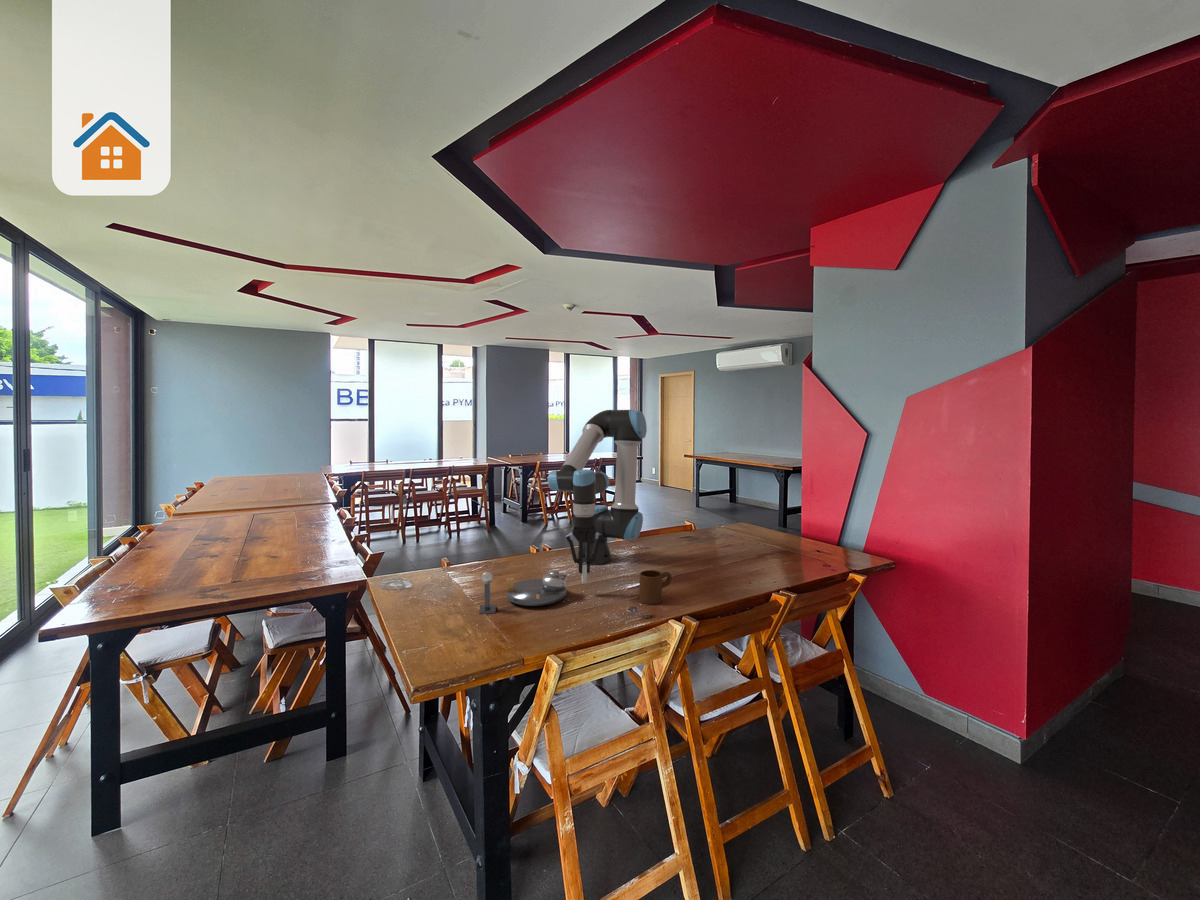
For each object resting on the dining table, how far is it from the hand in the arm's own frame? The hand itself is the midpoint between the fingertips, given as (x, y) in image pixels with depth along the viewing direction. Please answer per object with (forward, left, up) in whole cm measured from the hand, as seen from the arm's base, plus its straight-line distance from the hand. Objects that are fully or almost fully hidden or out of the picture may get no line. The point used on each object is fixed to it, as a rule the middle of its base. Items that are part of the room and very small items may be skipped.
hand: (584, 581), depth 170 cm
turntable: (0, -16, -3) cm, 17 cm away
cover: (0, -10, -1) cm, 10 cm away
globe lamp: (+8, -32, -5) cm, 34 cm away
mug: (+8, +24, -5) cm, 25 cm away
